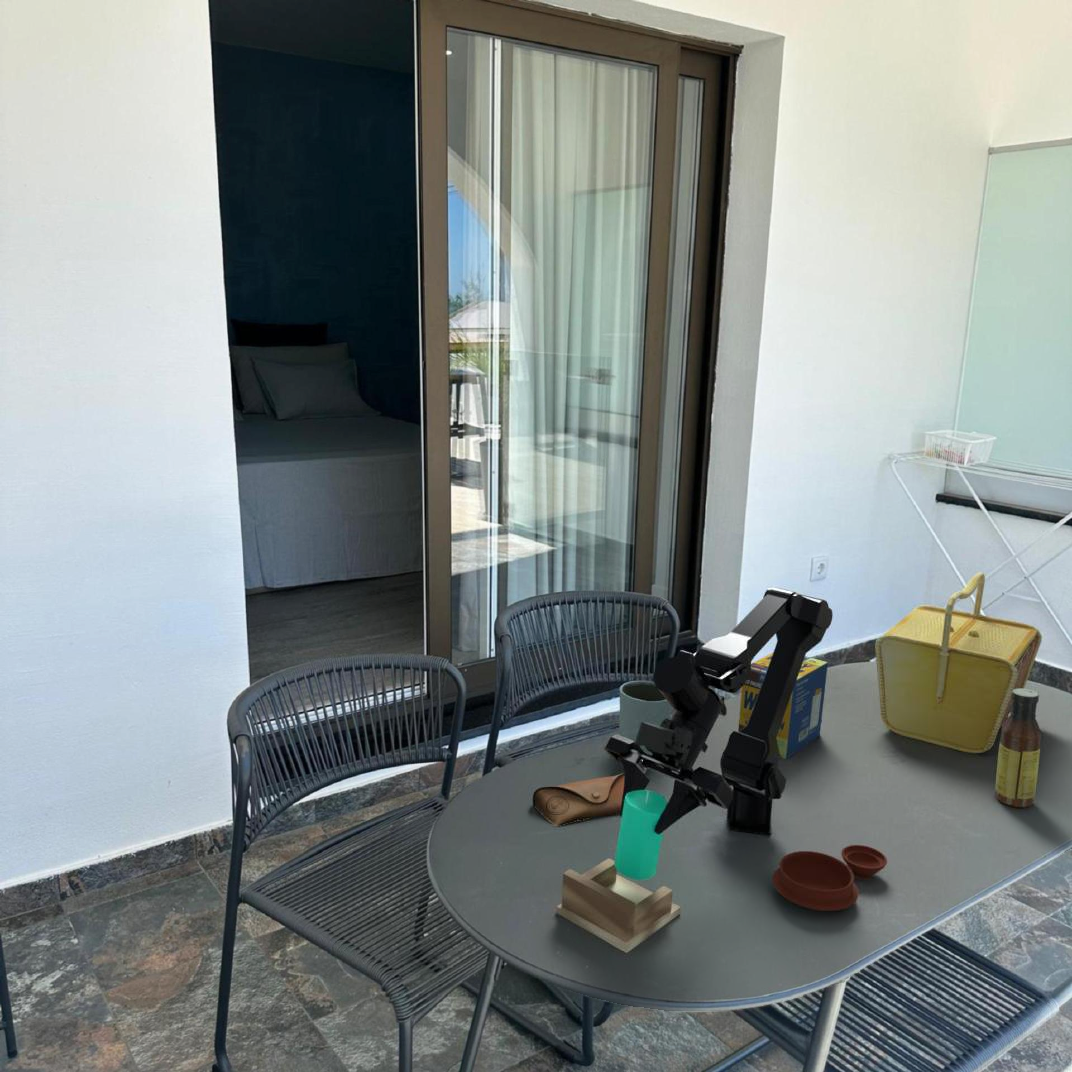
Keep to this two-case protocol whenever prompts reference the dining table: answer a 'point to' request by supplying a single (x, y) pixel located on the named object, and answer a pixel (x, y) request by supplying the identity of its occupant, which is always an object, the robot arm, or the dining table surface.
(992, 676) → the picnic basket
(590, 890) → the dock
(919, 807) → the dining table surface
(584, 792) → the sunglasses case
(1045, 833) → the dining table surface
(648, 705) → the pale green cup
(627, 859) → the candle
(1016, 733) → the sauce bottle
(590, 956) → the dining table surface
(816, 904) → the pottery
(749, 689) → the protein box
